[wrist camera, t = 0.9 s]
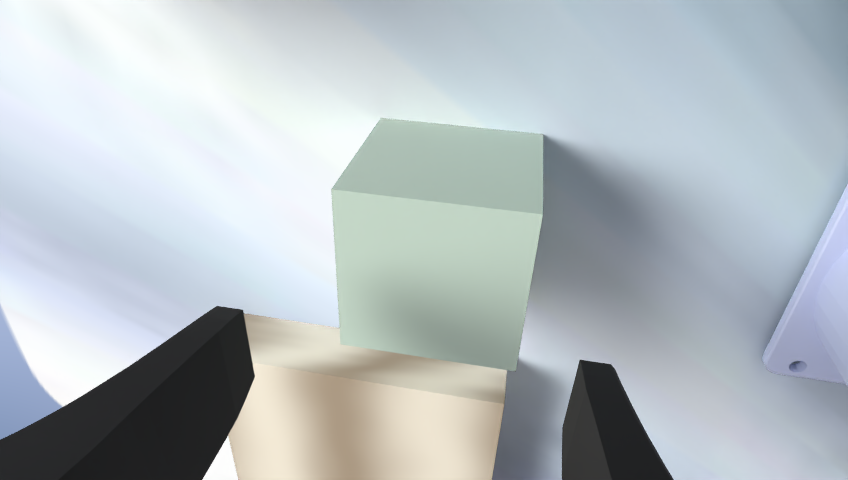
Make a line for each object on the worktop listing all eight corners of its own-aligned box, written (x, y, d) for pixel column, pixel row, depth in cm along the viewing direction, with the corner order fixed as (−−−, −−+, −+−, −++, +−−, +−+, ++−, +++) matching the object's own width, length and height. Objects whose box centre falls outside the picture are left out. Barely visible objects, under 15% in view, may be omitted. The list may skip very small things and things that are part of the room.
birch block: (508, 345, 22) (504, 404, 20) (482, 509, 28) (476, 569, 26) (245, 305, 24) (210, 355, 21) (273, 469, 29) (248, 522, 27)
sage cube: (543, 133, 17) (542, 214, 13) (521, 268, 20) (515, 371, 15) (381, 117, 18) (331, 189, 13) (382, 249, 20) (340, 344, 16)
